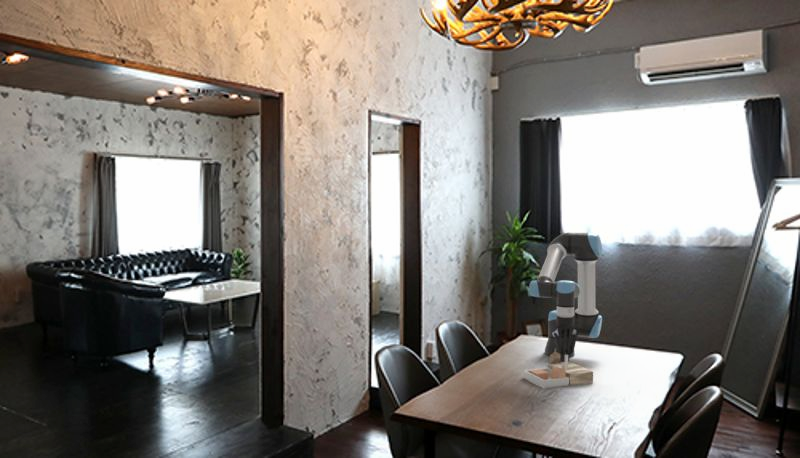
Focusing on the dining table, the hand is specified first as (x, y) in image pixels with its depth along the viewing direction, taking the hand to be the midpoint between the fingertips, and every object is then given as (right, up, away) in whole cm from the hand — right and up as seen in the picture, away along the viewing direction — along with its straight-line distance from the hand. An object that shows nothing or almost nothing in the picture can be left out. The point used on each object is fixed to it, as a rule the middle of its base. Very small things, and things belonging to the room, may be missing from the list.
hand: (564, 368), depth 254 cm
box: (-8, -6, +2) cm, 10 cm away
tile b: (-2, -3, -1) cm, 3 cm away
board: (+4, -6, +6) cm, 10 cm away
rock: (+2, -6, +22) cm, 23 cm away
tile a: (-10, -2, +5) cm, 12 cm away
